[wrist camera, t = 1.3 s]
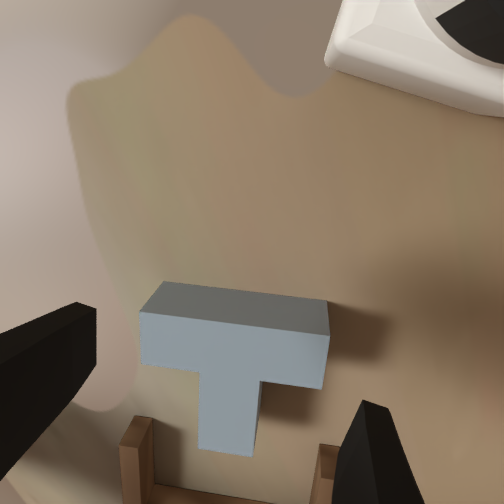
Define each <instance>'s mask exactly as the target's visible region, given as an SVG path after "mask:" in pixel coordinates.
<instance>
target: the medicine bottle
mask: <svg viewBox="0 0 504 504" xmlns="http://www.w3.org/2000/svg"><path fill="white" fill-rule="evenodd" d="M324 62H325V64H326V66H328V67H329V68H331V69H334V70H337V71H340V72H344V73H347V74H350V75H353V76H356V77H359V78H363V79H366V80H369V81H372V82H375V83H378V84H381V85H385V86H388V87H391V88H394V89H397V90H400V91H403V92H407V93H410V94H413V95H416V96H419V97H422V98H426V99H429V100H432V101H435V102H438V103H441V104H444V105H448V106H451V107H454V108H457V109H460V110H463V111H467V112H470V113H473V114H479V115H487V116H496V117H504V0H343V1H342V5H341V8H340V11H339V14H338V17H337V20H336V23H335V26H334V29H333V32H332V35H331V38H330V41H329V44H328V47H327V50H326V53H325V58H324Z"/></svg>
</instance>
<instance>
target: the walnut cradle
mask: <svg viewBox="0 0 504 504" xmlns="http://www.w3.org/2000/svg"><path fill="white" fill-rule="evenodd" d="M338 452H339V447H336V446H330V445H323V444H320V445H319V451H318V457H317V462H316V468H315V474H314V480H313V486H312V491H311V497H310V503H309V504H331V501H332V490H333V483H334V476H335V469H336V463H337V456H338ZM119 457H120V470H121V483H122V496H123V504H270V503H264V502H259V501H253V500H247V499H241V498H235V497H229V496H223V495H217V494H211V493H205V492H199V491H194V490H188V489H182V488H176V487H170V486H164V485H158V484H155V479H154V450H153V422H152V418H147V417H140V416H134V418H133V420H132V421H131V423H130V425H129V427H128V429H127V431H126V432H125V434H124V436H123V438H122V440H121V442H120V444H119Z"/></svg>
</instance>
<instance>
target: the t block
mask: <svg viewBox="0 0 504 504" xmlns="http://www.w3.org/2000/svg"><path fill="white" fill-rule="evenodd" d="M139 319H140V345H141V364H144V365H151V366H158V367H165V368H172V369H179V370H187V371H194V372H200V379H199V419H198V449H204V450H210V451H216V452H223V453H229V454H235V455H241V456H248V457H253V453H254V446H255V439H256V433H257V426H258V420H259V413H260V405H261V394H262V384H263V381H265V382H272V383H279V384H286V385H293V386H300V387H307V388H314V389H322V385H323V378H324V372H325V366H326V360H327V354H328V347H329V341H330V328H329V317H328V307H327V301H325V300H317V299H309V298H300V297H292V296H283V295H275V294H267V293H258V292H250V291H242V290H233V289H225V288H216V287H208V286H200V285H191V284H183V283H174V282H166V281H163V283H162V284H161V285H160V286H159V288H158V289H157V290H156V291H155V293H154V294H153V295H152V296H151V298H150V299H149V300H148V301H147V303H146V304H145V305H144V306H143V308H142V309H141V310H140V311H139Z"/></svg>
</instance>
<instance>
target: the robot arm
mask: <svg viewBox="0 0 504 504" xmlns="http://www.w3.org/2000/svg"><path fill="white" fill-rule="evenodd" d="M95 366H96V308H93V307H90V306H87V305H84V304H81V303H78V302H75V303H72V304H70V305H67V306H64V307H62V308H60V309H57V310H55V311H53V312H50V313H48V314H46V315H43V316H41V317H39V318H36V319H34V320H32V321H29V322H27V323H25V324H23V325H20V326H18V327H15V328H13V329H10V330H8V331H6V332H3V333H1V334H0V481H1V480H2V479H3V477H4V476H5V475H6V474H7V473H8V471H9V470H10V469H11V468H12V467H13V466H14V465H15V463H16V462H17V461H18V460H19V459H20V458H21V457H22V456H23V454H24V453H25V452H26V451H27V450H28V449H29V448H30V447H31V445H32V444H33V443H34V442H35V441H36V440H37V439H38V438H39V436H40V435H41V434H42V433H43V432H44V431H45V430H46V429H47V427H48V426H49V425H50V424H51V423H52V422H53V421H54V420H55V418H56V417H57V416H58V415H59V414H60V413H61V412H62V410H63V409H64V408H65V407H66V406H67V405H68V404H69V402H70V401H71V400H72V399H73V398H74V396H75V395H76V394H77V392H78V391H79V389H80V388H81V387H82V385H83V384H84V382H85V381H86V379H87V378H88V376H89V375H90V373H91V372H92V370H93V369H94V367H95ZM331 504H425V503H424V500H423V498H422V495H421V493H420V491H419V488H418V486H417V484H416V481H415V479H414V476H413V474H412V471H411V469H410V466H409V463H408V461H407V458H406V455H405V453H404V450H403V447H402V445H401V442H400V439H399V436H398V433H397V431H396V428H395V425H394V422H393V419H392V416H391V413H390V411H389V409H388V408H386V407H383V406H380V405H377V404H374V403H371V402H368V401H365V400H362V402H361V404H360V406H359V408H358V411H357V413H356V415H355V417H354V419H353V421H352V424H351V426H350V428H349V430H348V432H347V434H346V436H345V439H344V441H343V443H342V445H341V447H340V449H339V452H338V456H337V463H336V469H335V476H334V483H333V490H332V501H331Z"/></svg>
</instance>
